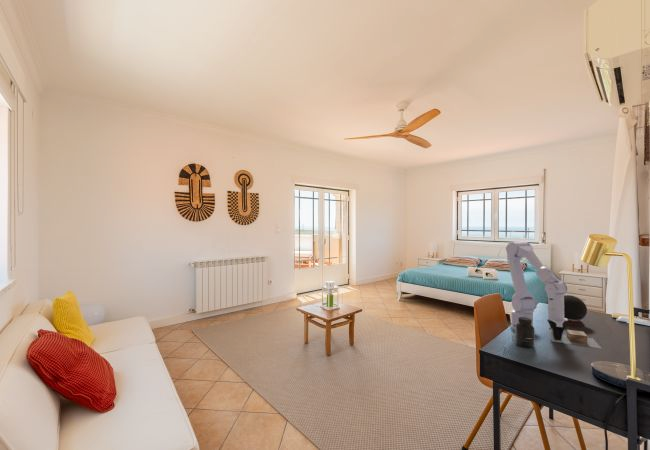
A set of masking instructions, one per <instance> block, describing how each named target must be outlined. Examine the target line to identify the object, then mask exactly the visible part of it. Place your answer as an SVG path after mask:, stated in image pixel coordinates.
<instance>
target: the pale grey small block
mask: <svg viewBox="0 0 650 450" xmlns="http://www.w3.org/2000/svg"><path fill="white" fill-rule="evenodd" d="M548 331H549V338H550V340H551V342H553V343H560V344H561V343H562V344H564V343H563V337H562V338H561V340H555V339H554V335H553V330H552V328H550V327H549V328H548Z"/></svg>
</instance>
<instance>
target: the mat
mask: <svg viewBox="0 0 650 450" xmlns="http://www.w3.org/2000/svg"><path fill="white" fill-rule="evenodd" d="M562 337H563V343H562V344H566V345H567V344H568V345H575V346H581V347H582V346H583V347H588V348H590V347H591V348H595V349H596V348H597V349H602V346H600V344H598V342H596V340H595V339H594V338H592V337H587V344H583V343H576V342H570V341H569V339H568V338H567V334H562Z"/></svg>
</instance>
